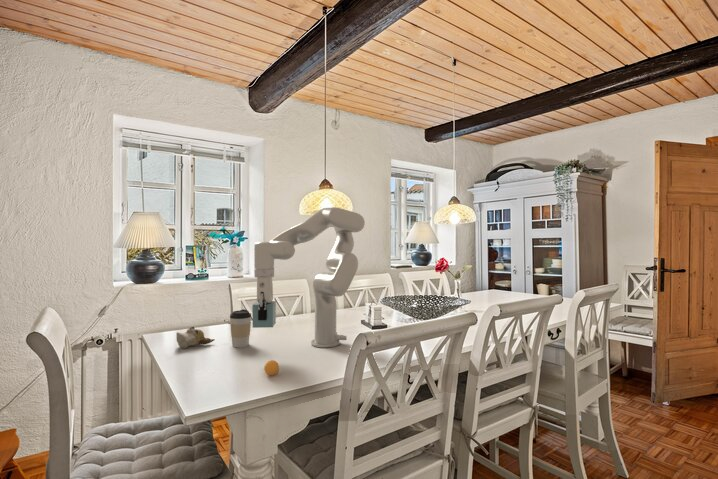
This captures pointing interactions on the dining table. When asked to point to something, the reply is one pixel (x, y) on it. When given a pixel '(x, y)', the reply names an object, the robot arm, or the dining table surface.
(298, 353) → the dining table surface
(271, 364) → the ball
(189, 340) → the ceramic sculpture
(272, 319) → the pale teal cube
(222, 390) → the dining table surface
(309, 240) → the robot arm
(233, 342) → the coffee cup
